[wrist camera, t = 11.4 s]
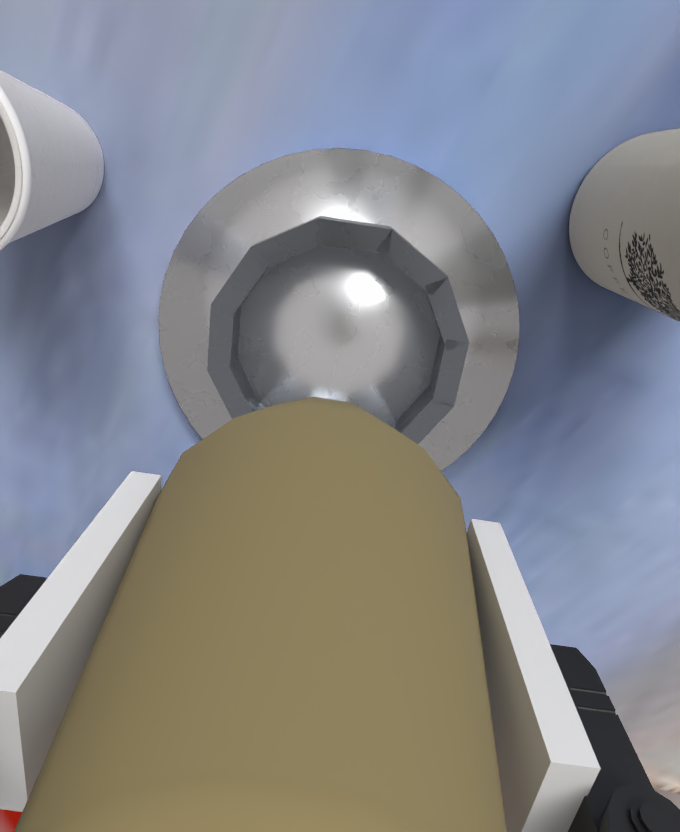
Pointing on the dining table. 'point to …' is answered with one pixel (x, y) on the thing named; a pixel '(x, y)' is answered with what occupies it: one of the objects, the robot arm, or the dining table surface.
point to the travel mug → (633, 221)
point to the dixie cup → (43, 161)
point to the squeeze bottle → (286, 648)
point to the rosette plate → (342, 300)
